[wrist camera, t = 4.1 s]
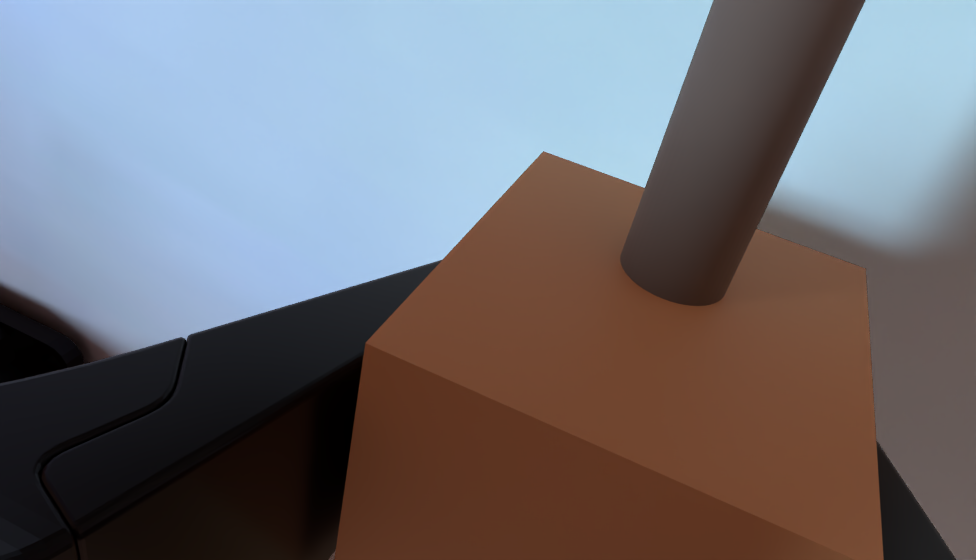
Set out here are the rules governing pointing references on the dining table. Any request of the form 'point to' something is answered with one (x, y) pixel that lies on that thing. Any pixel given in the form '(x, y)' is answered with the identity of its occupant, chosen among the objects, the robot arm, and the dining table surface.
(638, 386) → the tethered block
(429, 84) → the dining table surface
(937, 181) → the dining table surface
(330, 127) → the dining table surface
